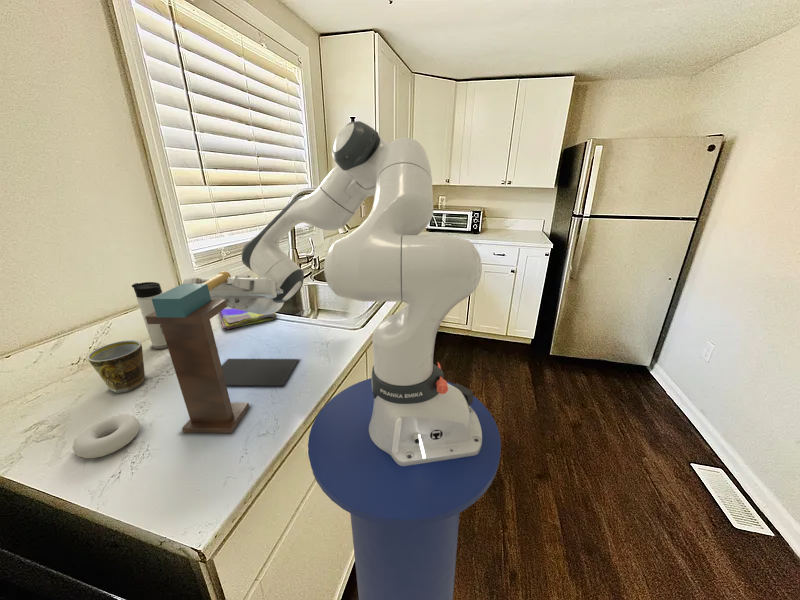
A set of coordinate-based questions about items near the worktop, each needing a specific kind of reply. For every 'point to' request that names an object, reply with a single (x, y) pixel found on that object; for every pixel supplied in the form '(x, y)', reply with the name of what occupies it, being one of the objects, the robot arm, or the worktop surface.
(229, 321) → the dish towel
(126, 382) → the ceramic cup
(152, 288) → the travel mug
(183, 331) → the brown wooden pedestal
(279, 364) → the mat
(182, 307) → the mallet
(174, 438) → the worktop surface
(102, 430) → the donut
